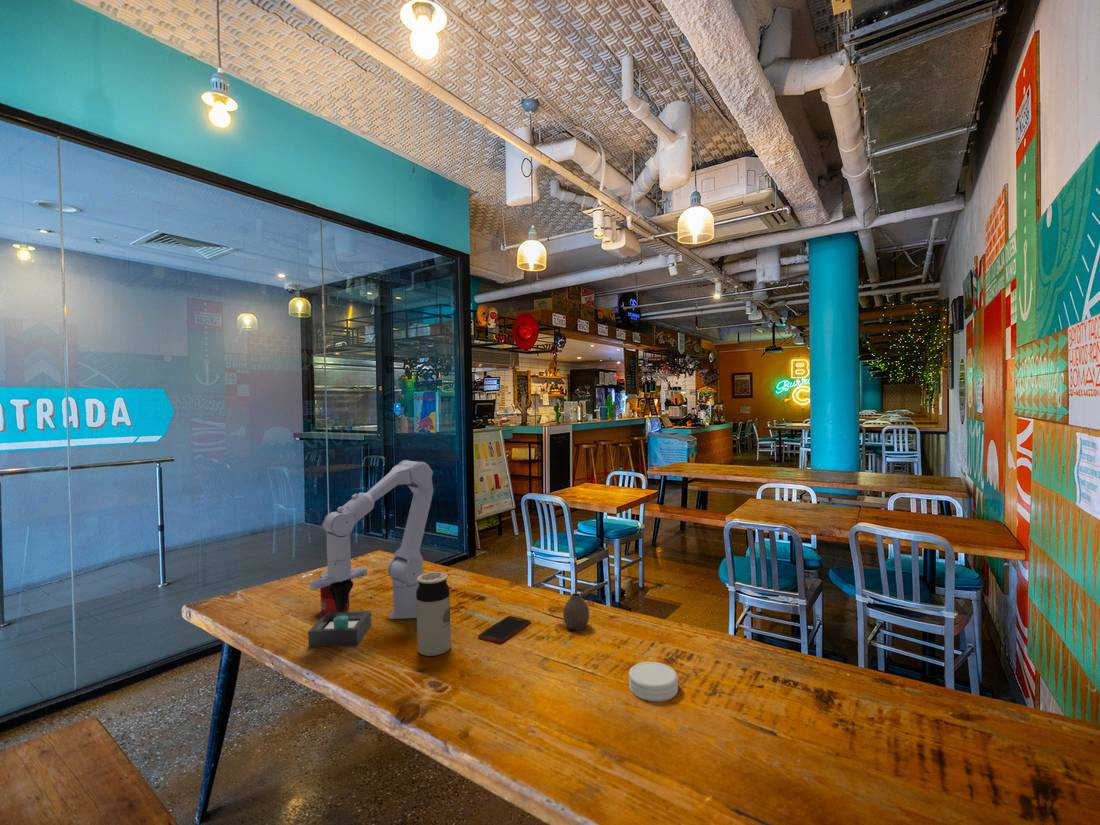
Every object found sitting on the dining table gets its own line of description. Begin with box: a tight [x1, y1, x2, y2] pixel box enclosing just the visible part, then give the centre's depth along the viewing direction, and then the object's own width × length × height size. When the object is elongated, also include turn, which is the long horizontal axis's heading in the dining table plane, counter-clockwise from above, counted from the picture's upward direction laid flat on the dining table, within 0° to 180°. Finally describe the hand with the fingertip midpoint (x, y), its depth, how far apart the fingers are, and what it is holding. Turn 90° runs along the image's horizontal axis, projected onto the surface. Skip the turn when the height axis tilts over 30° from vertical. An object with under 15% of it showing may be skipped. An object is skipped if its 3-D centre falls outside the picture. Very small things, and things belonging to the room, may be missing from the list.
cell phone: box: [477, 615, 532, 645], centre depth 138 cm, size 8×15×1 cm, turn 150°
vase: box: [562, 592, 590, 631], centre depth 139 cm, size 7×7×9 cm
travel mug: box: [416, 571, 452, 657], centre depth 128 cm, size 8×8×18 cm
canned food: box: [319, 570, 350, 615], centre depth 154 cm, size 8×8×11 cm
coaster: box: [628, 661, 679, 702], centre depth 108 cm, size 10×10×4 cm
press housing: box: [307, 610, 372, 648], centre depth 137 cm, size 12×12×4 cm
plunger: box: [324, 616, 359, 629], centre depth 137 cm, size 9×9×4 cm
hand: (340, 609), depth 137 cm, fingers closed
